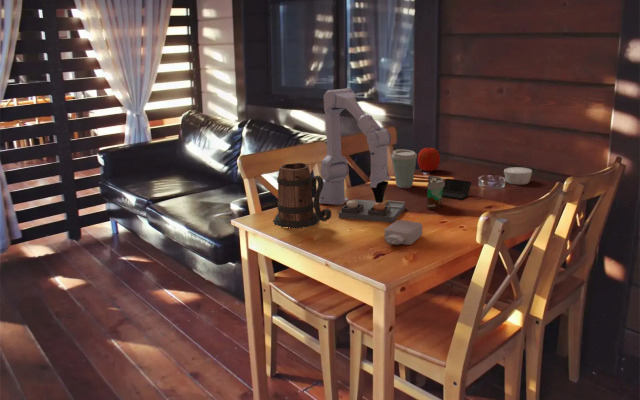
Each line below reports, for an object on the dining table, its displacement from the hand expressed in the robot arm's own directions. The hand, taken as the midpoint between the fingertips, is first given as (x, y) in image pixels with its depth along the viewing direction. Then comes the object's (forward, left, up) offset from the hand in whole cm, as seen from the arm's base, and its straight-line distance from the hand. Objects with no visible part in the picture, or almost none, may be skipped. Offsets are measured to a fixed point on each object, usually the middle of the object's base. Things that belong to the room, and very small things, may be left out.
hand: (379, 202), depth 207 cm
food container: (+16, +21, -6) cm, 27 cm away
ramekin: (+42, +63, -6) cm, 76 cm away
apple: (+2, +72, -6) cm, 73 cm away
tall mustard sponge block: (-2, +10, -4) cm, 11 cm away
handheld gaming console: (+20, +36, -6) cm, 41 cm away
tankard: (-24, -12, -6) cm, 28 cm away
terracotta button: (0, 0, -3) cm, 3 cm away
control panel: (-4, +5, -6) cm, 9 cm away
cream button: (-10, 0, -3) cm, 10 cm away
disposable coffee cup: (-2, +44, -6) cm, 44 cm away
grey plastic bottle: (+13, -20, -6) cm, 25 cm away
